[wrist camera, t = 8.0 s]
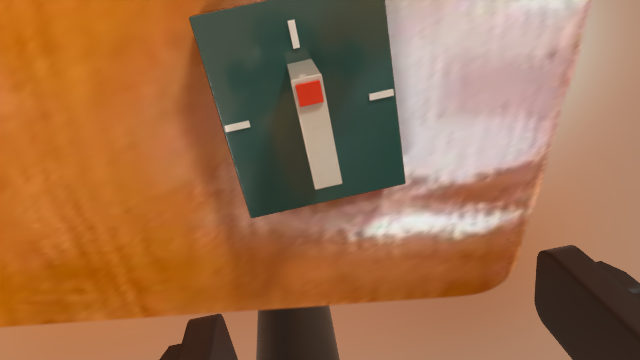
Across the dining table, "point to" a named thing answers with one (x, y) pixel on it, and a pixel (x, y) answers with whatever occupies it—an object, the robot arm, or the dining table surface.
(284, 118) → the green switch panel
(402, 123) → the dining table surface
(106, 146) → the dining table surface
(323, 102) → the tap handle
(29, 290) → the dining table surface
